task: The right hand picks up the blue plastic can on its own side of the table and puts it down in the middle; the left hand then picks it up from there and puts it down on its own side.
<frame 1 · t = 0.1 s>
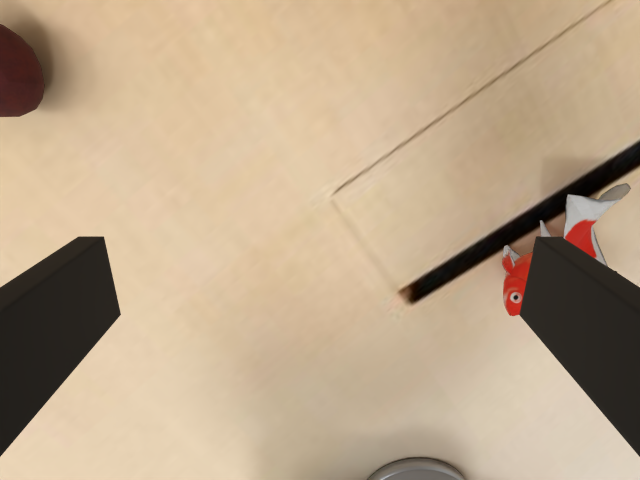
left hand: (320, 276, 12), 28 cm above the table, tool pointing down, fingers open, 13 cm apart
dark red ball: (21, 71, 36), on the table
fish: (542, 232, 42), on the table
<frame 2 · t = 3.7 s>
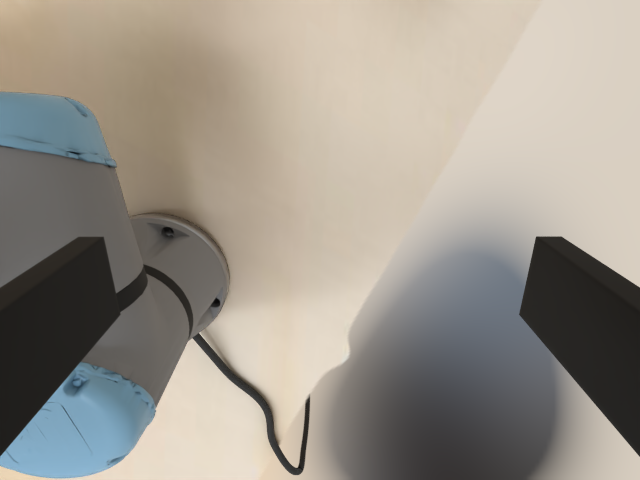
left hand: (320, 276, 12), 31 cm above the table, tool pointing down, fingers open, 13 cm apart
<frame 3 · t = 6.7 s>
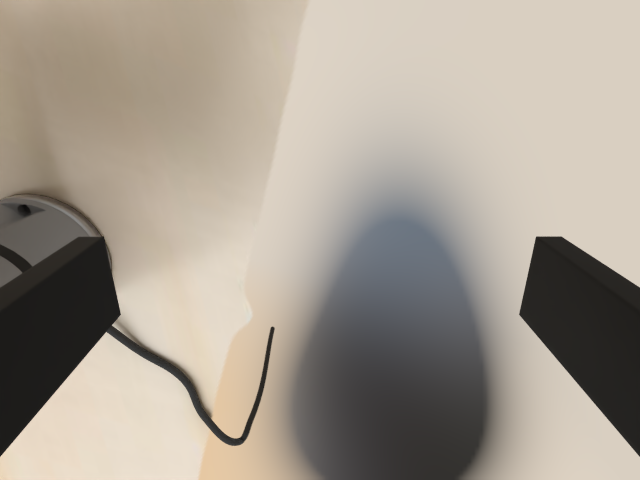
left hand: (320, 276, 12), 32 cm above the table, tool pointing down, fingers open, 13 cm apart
when the right hand's fingers open (3 cm above the table, at t = 9.8 s): can drops 2 cm, on the table.
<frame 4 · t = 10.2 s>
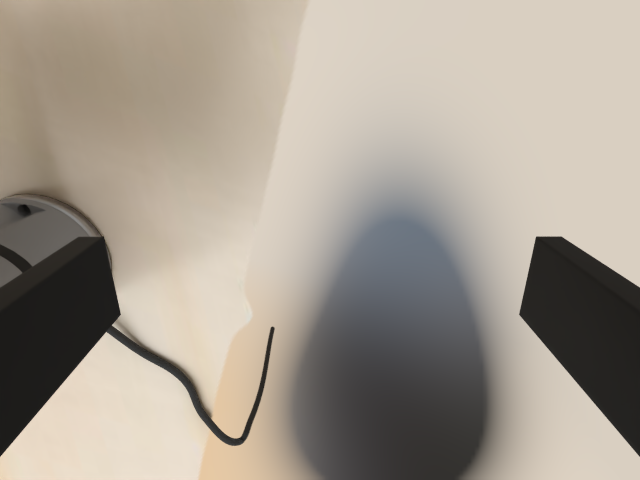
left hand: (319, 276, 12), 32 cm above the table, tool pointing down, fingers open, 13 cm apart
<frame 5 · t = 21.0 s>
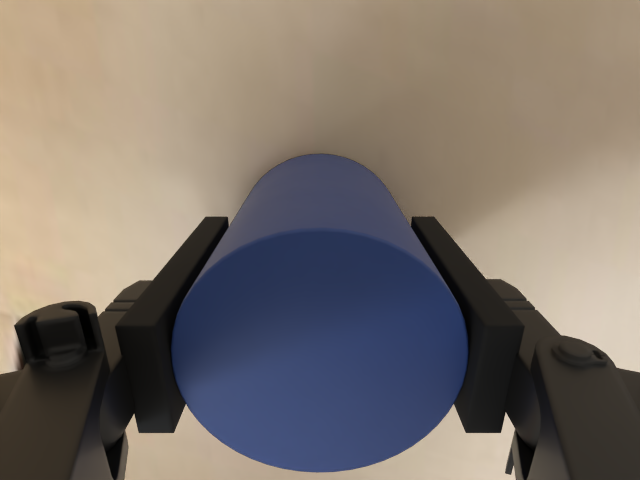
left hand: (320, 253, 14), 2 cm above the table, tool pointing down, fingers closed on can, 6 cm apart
can: (319, 233, 16), on the table, touching left hand
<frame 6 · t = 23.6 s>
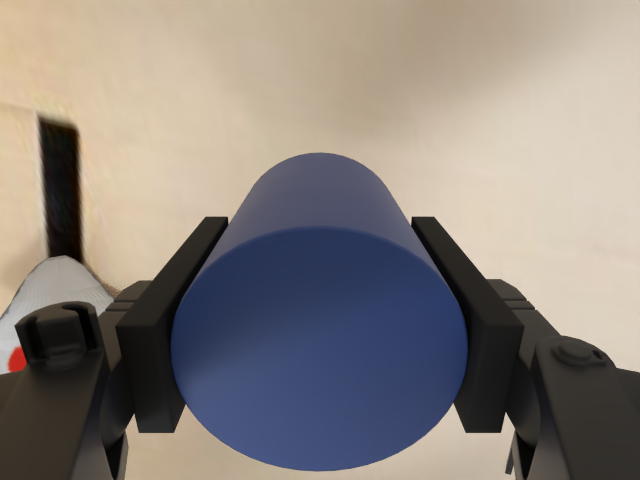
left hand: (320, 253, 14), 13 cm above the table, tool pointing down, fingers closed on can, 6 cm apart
can: (319, 232, 16), point 11 cm above the table, touching left hand
fish: (93, 335, 31), on the table
when the left hand's fingers open (4 cm above the table, at t = 26.5 s): can drops 2 cm, on the table.
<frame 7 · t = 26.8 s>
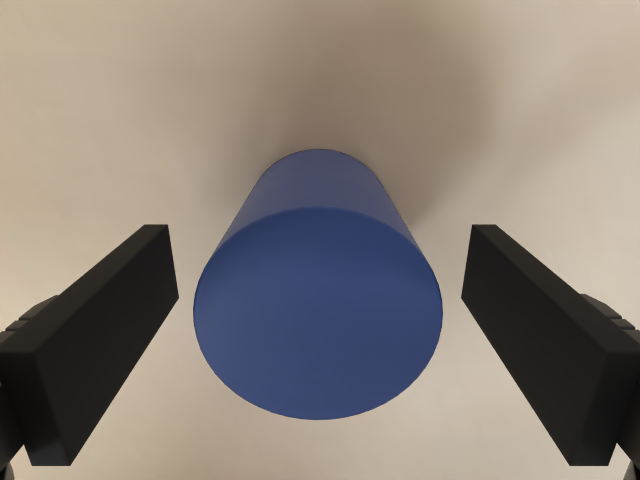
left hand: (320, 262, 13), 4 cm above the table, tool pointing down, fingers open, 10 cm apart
can: (318, 221, 17), on the table
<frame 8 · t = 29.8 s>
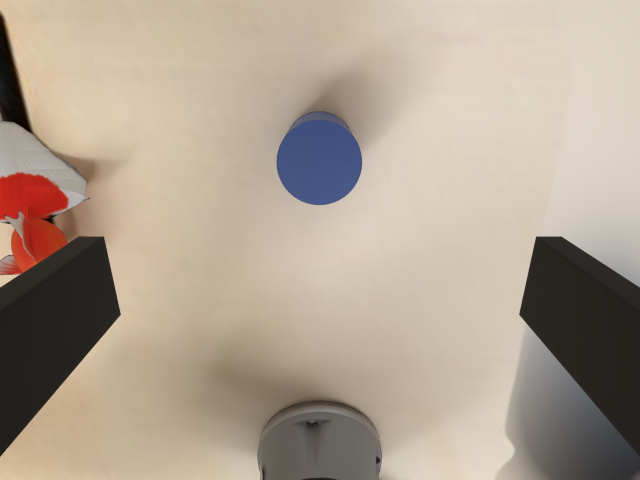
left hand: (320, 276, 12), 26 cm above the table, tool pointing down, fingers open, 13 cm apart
can: (319, 147, 37), on the table
fish: (55, 201, 39), on the table
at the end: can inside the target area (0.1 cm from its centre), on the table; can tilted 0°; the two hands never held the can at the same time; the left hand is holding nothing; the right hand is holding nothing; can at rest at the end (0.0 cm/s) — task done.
